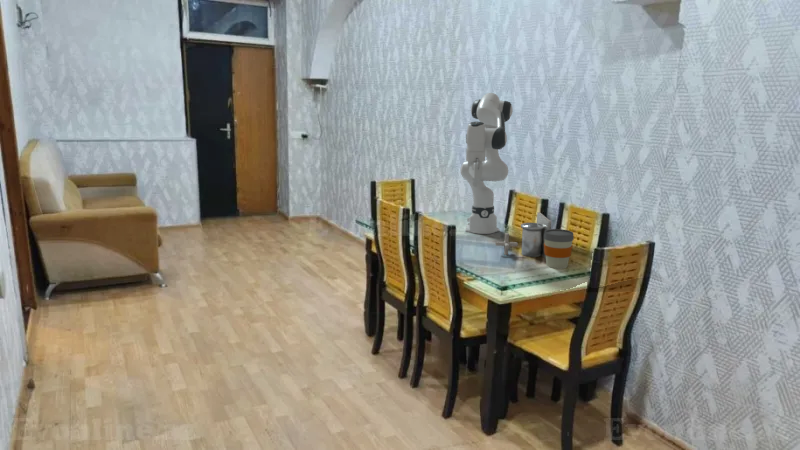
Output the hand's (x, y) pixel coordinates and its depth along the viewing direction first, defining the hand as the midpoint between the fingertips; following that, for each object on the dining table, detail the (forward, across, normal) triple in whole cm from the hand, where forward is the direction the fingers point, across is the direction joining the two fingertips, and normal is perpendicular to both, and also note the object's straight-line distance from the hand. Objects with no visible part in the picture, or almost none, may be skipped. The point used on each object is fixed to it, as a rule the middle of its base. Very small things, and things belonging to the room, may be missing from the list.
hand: (475, 186), depth 263 cm
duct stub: (+31, -9, -26) cm, 41 cm away
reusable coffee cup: (+31, -27, -33) cm, 53 cm away
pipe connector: (+31, -9, -14) cm, 35 cm away
